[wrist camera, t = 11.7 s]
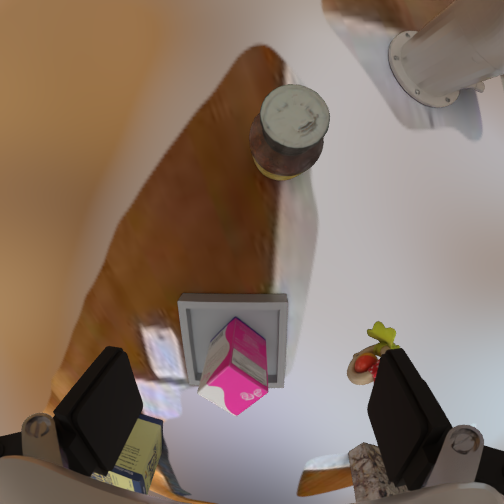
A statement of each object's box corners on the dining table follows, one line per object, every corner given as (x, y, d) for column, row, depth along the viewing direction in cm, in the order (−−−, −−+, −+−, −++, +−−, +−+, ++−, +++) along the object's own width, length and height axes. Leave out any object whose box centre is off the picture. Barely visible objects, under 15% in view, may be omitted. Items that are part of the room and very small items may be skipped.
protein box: (164, 448, 48) (145, 504, 33) (98, 426, 48) (70, 474, 33) (164, 419, 46) (140, 482, 31) (91, 395, 45) (56, 446, 30)
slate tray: (286, 293, 38) (287, 302, 36) (282, 376, 42) (283, 387, 39) (183, 293, 39) (177, 301, 36) (193, 374, 42) (189, 384, 40)
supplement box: (241, 363, 40) (234, 418, 29) (209, 340, 40) (193, 392, 29) (268, 339, 39) (269, 393, 28) (236, 314, 38) (226, 364, 27)
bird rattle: (363, 358, 43) (410, 335, 38) (357, 415, 34) (414, 395, 29) (342, 337, 42) (391, 311, 37) (332, 395, 33) (393, 373, 28)
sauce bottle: (308, 177, 35) (360, 173, 15) (258, 184, 35) (252, 187, 16) (299, 126, 33) (339, 68, 14) (249, 132, 34) (233, 78, 14)
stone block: (340, 456, 47) (356, 532, 28) (362, 438, 46) (386, 516, 26) (380, 464, 48) (400, 528, 29) (401, 446, 47) (428, 512, 27)
